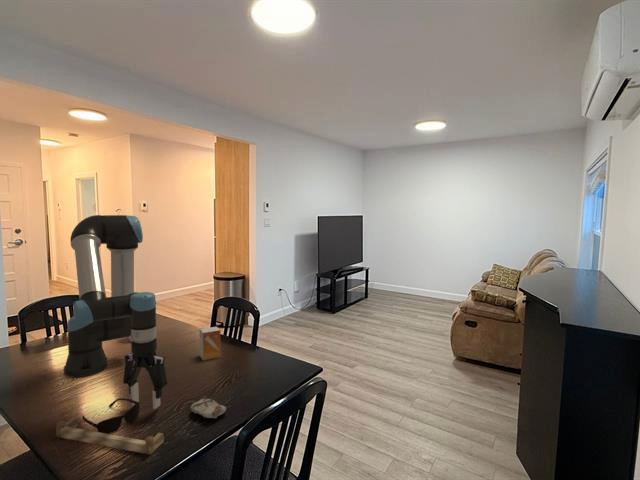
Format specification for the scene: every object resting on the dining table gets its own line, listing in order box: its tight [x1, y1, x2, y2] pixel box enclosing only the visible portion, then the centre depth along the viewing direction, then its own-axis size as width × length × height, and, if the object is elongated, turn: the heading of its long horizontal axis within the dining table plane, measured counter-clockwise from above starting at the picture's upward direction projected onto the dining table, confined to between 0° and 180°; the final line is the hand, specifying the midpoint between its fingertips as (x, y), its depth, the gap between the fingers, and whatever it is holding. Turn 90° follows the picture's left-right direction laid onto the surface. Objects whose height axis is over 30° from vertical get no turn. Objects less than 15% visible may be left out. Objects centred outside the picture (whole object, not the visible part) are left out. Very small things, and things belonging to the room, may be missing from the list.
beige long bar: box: [56, 417, 165, 456], centre depth 100 cm, size 32×6×4 cm, turn 77°
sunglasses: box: [82, 397, 140, 434], centre depth 109 cm, size 14×16×5 cm
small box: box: [199, 326, 221, 362], centre depth 159 cm, size 8×6×13 cm
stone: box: [190, 397, 227, 419], centre depth 113 cm, size 12×9×3 cm
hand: (145, 405), depth 115 cm, fingers open, 8 cm apart
